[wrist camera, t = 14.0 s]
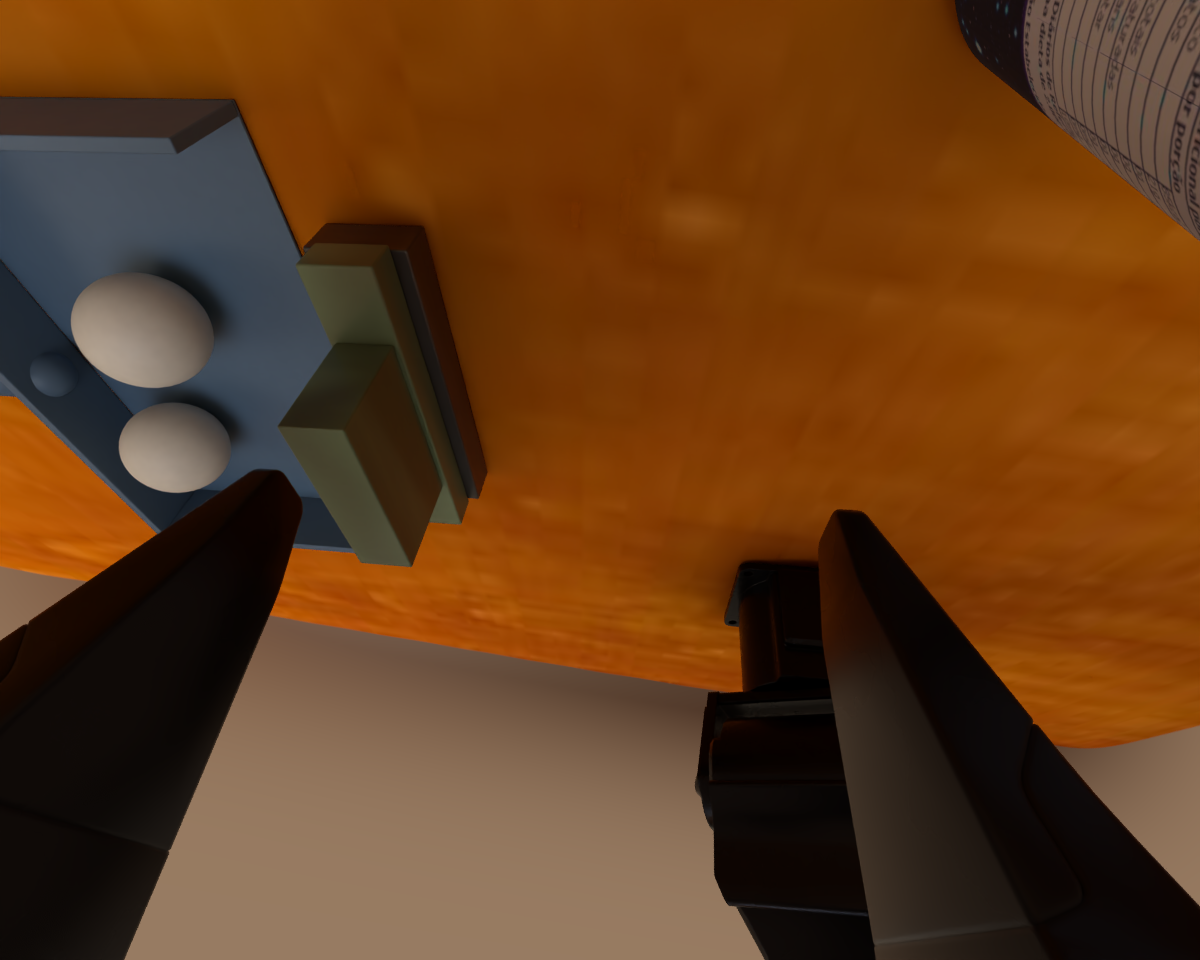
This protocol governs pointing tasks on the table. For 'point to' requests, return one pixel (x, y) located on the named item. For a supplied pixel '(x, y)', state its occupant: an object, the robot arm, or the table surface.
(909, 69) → the table surface
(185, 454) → the crumb
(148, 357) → the crumb
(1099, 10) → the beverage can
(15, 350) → the dustpan
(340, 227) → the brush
